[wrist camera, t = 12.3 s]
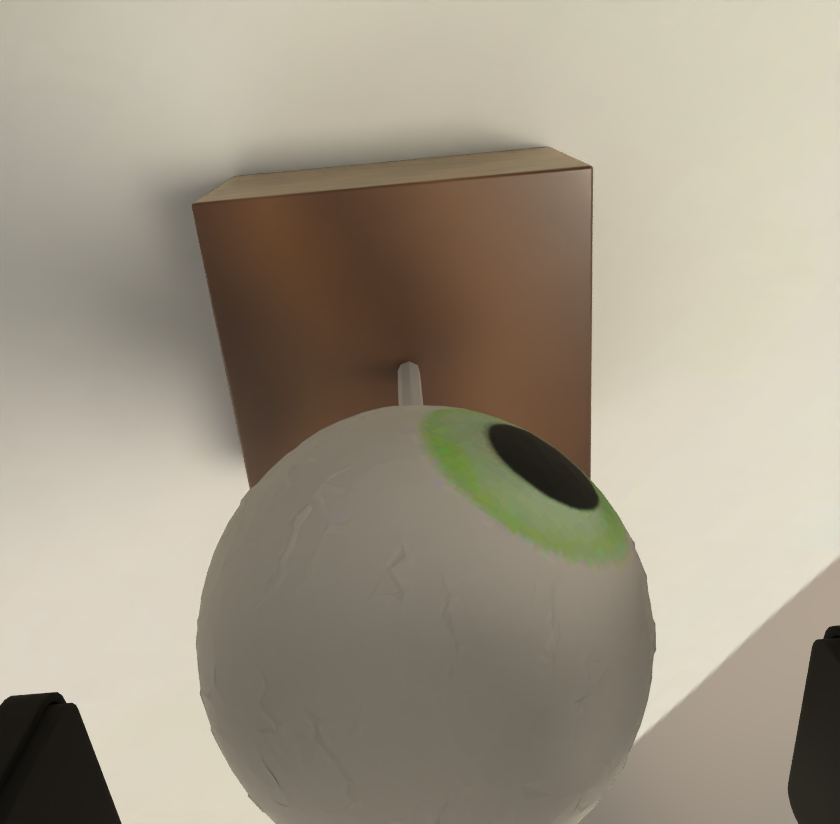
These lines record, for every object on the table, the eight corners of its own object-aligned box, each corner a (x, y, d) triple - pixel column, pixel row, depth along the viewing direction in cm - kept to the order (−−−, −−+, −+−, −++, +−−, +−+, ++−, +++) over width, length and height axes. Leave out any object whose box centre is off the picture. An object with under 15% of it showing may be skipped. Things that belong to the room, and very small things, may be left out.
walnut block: (551, 146, 26) (593, 165, 20) (555, 433, 30) (591, 512, 25) (232, 176, 26) (190, 203, 20) (283, 458, 30) (260, 542, 25)
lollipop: (572, 325, 22) (863, 723, 9) (453, 509, 25) (531, 1050, 11) (355, 208, 21) (289, 469, 7) (251, 417, 23) (49, 916, 9)
